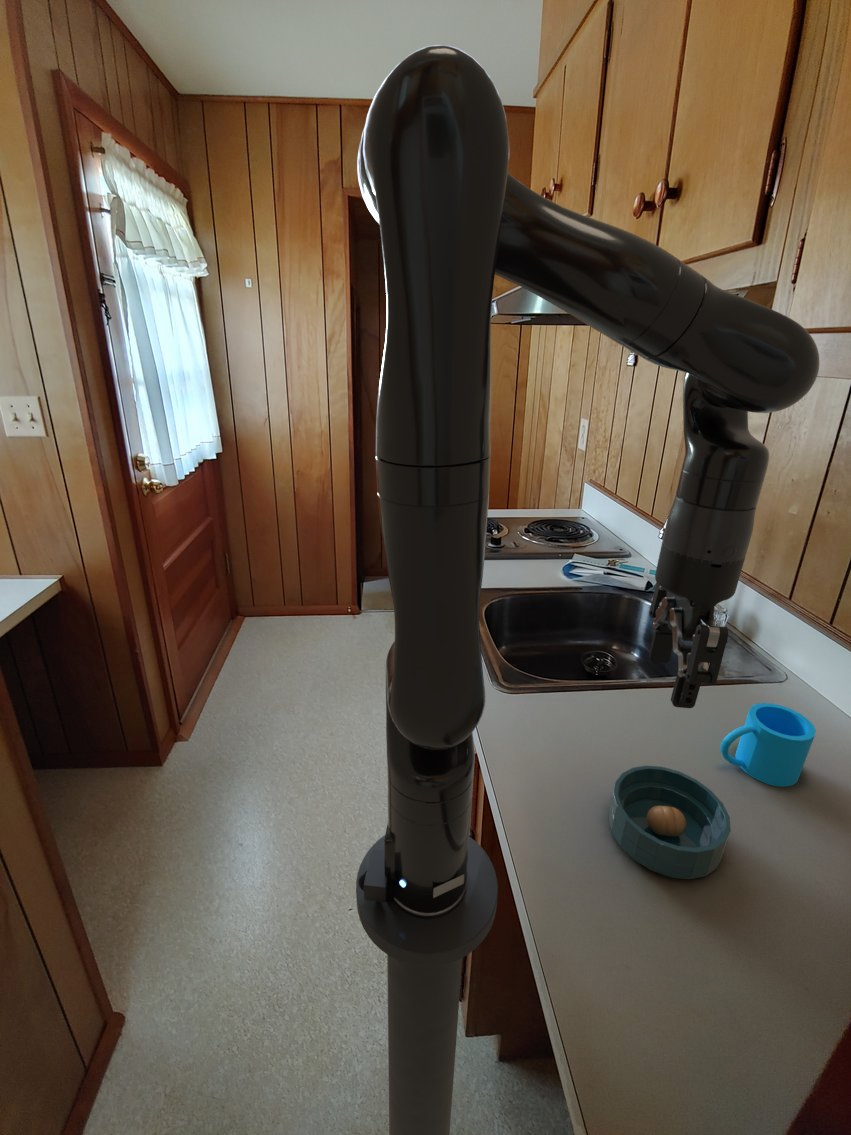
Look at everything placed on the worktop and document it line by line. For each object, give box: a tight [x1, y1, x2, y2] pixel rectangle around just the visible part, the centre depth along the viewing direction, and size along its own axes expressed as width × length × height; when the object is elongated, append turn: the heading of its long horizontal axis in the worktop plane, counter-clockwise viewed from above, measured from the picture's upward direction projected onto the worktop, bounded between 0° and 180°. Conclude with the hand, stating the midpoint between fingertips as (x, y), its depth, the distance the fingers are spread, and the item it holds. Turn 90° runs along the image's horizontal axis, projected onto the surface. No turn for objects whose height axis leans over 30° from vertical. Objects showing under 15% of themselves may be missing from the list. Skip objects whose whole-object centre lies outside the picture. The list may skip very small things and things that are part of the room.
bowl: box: [607, 765, 732, 880], centre depth 68 cm, size 13×13×5 cm
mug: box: [720, 702, 817, 788], centre depth 79 cm, size 12×8×8 cm
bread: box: [647, 806, 686, 837], centre depth 68 cm, size 5×3×3 cm
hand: (669, 681), depth 61 cm, fingers open, 8 cm apart
